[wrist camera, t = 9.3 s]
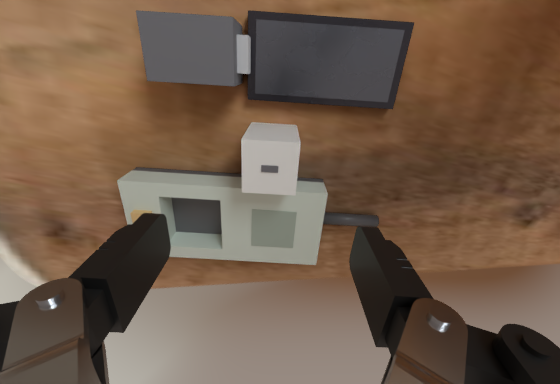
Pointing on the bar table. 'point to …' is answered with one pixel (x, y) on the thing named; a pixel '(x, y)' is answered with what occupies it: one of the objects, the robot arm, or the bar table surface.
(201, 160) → the bar table surface
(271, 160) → the charger
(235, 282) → the bar table surface
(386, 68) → the phone
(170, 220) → the strip
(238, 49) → the plug
